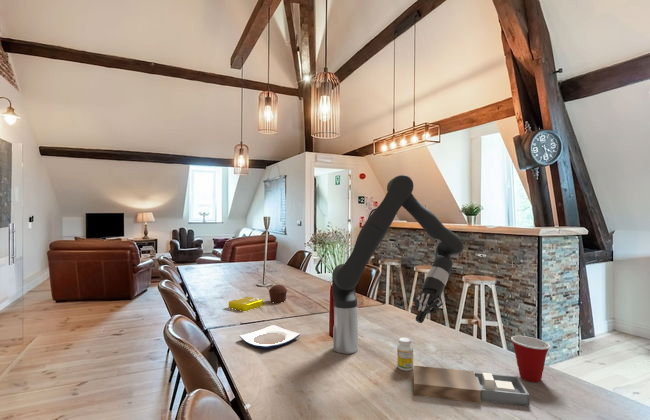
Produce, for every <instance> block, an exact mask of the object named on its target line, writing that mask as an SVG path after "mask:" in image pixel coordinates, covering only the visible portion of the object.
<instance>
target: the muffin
mask: <svg viewBox="0 0 650 420" xmlns="http://www.w3.org/2000/svg"><path fill="white" fill-rule="evenodd" d="M287 293H288V290H287V288H286V287H285V286H284V285H282V284H275V285H272V286H271V287H270V288H269V290H268V294H269V300H270V303H272V302H274V303H273V304H282V303H281V302H283V303H285V302H286V301H287V300H286V299H287ZM284 301H285V302H284Z"/></svg>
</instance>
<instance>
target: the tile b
mask: <svg viewBox="0 0 650 420" xmlns="http://www.w3.org/2000/svg"><path fill="white" fill-rule="evenodd" d="M494 384H495V390H497V391H507V392H515V389H514V387H513V385H512V382H507V381H499V380H494Z"/></svg>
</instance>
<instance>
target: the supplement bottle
mask: <svg viewBox="0 0 650 420" xmlns="http://www.w3.org/2000/svg"><path fill="white" fill-rule="evenodd" d="M396 351H397V352H396V353H397V354H396V356H397V357H396V359H397V361H396V362H397V367H398V369H399V370H402V371H406V372H407V371H408V372H409V371H412V370H414V348H413V346H412V340H411V338H408V337H400V338H399V339H398V344H397V347H396Z"/></svg>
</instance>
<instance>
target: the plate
mask: <svg viewBox="0 0 650 420" xmlns="http://www.w3.org/2000/svg"><path fill="white" fill-rule="evenodd" d="M267 333H278V334H282V335H284V336H285V340H283V341H282V342H278V343H275V344H259V343H256V342H254V338H255V337H257V336H259V335H263V334H267ZM300 335H301V333H300V332H295V331H292V330H289V329H286V328H282V327H280V326H278V325H275V324H271V325H269V326H267V327H264V328H261V329H259V330H256V331H252V332H249V333H248V332H247V333H245V334H240V335H239V338H240V339H241V340H242V341H243V342H245V344H248V345H250V346H253V347H255V348H259V349H265V350H267V349H272V348H273V349H274V348H278V347H279V346H280V345H281V346H283V344H284V345H286V344H287V343H290V342H292V341H294V340H296V339H297V338H299V336H300ZM277 346H278V347H277ZM281 346H280V347H281Z"/></svg>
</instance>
